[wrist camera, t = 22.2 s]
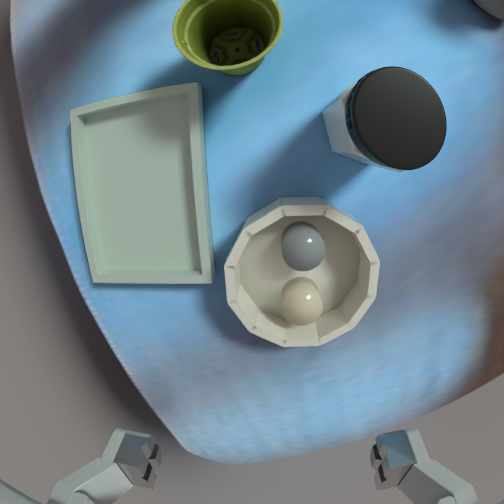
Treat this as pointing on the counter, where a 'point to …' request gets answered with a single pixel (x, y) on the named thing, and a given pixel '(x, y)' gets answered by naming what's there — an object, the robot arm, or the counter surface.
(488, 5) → the coffee pot
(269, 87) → the counter surface
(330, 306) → the bowl
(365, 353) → the counter surface
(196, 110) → the parts tray
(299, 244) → the grey ball
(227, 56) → the plant pot
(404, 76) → the jar
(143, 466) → the robot arm
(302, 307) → the stone sand
